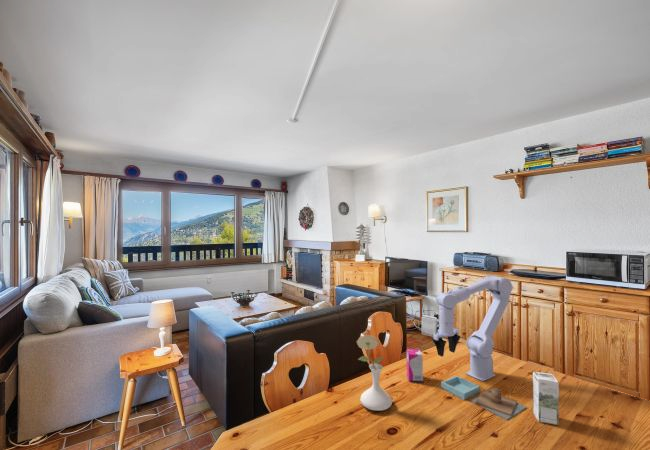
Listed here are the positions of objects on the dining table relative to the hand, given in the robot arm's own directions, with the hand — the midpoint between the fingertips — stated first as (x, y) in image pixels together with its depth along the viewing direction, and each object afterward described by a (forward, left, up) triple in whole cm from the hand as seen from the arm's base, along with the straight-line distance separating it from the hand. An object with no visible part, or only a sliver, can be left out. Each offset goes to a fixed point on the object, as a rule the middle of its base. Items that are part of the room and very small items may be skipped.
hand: (446, 353), depth 128 cm
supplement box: (+12, -7, -11) cm, 17 cm away
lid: (+1, +22, -10) cm, 24 cm away
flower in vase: (+39, -2, -11) cm, 40 cm away
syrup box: (-4, +35, -11) cm, 37 cm away
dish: (+4, +9, -10) cm, 14 cm away
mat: (+1, +22, -10) cm, 24 cm away
